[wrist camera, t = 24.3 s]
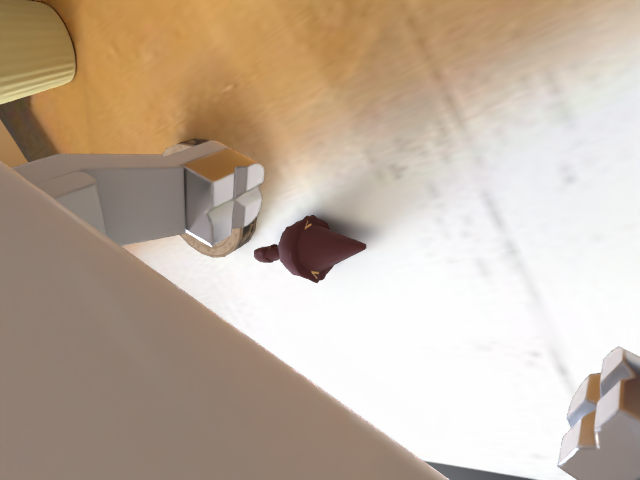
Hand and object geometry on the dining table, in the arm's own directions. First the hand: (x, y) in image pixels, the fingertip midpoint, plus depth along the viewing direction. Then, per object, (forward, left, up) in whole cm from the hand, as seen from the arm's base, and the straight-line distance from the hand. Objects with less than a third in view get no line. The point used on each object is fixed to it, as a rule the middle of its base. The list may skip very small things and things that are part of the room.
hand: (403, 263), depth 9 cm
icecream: (-10, -26, -29) cm, 40 cm away
